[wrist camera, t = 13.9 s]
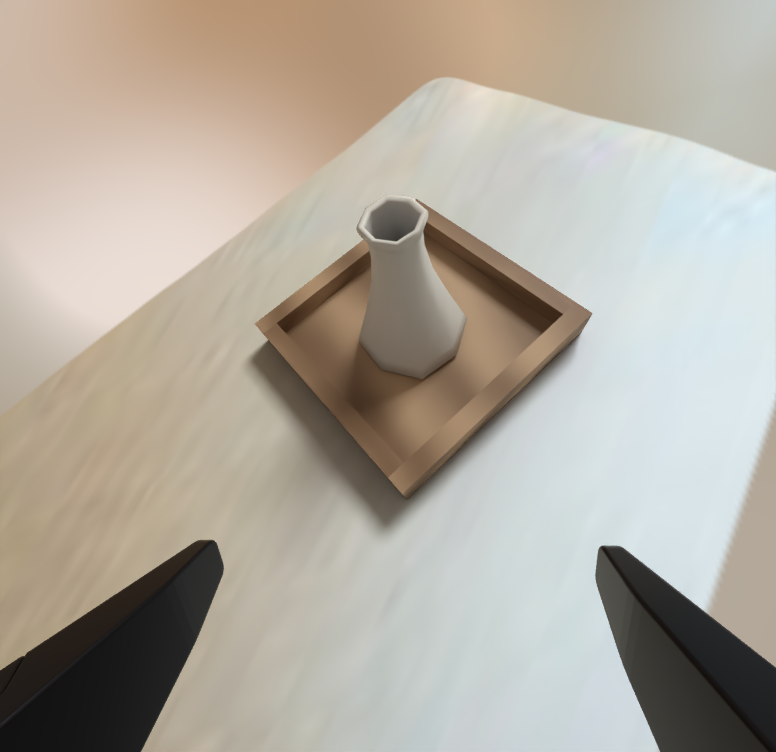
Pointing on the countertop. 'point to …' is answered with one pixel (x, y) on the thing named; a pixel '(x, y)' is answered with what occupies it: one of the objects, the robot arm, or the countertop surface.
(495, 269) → the walnut tray
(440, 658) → the countertop surface
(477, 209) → the countertop surface
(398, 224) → the flask
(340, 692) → the countertop surface
